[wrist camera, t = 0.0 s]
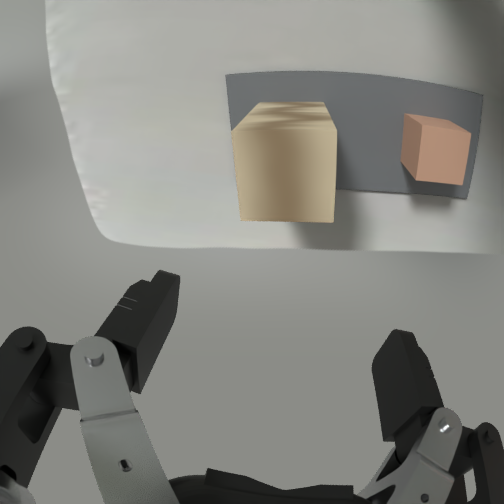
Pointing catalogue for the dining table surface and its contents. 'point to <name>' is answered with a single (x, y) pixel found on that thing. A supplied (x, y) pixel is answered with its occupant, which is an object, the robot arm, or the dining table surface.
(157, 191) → the dining table surface
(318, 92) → the rubber mat
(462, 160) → the terracotta cube
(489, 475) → the robot arm
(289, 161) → the tower mid
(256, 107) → the tower base
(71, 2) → the dining table surface
